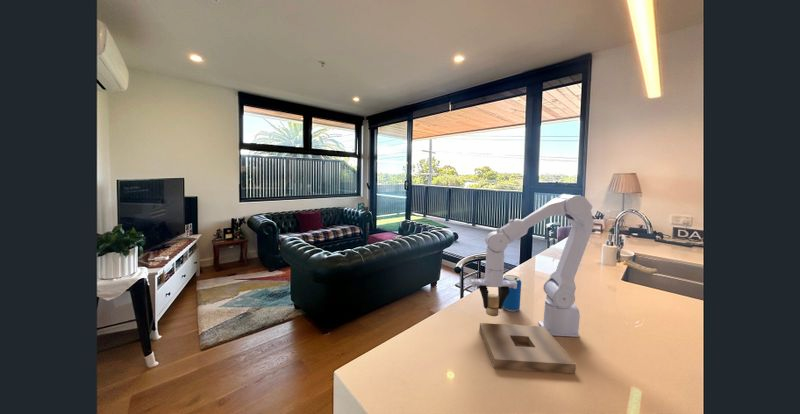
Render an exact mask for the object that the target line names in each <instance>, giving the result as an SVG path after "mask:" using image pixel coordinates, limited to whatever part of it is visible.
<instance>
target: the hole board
mask: <svg viewBox="0 0 800 414" xmlns="http://www.w3.org/2000/svg"><path fill="white" fill-rule="evenodd" d="M478 331H479V334H480V335H481V338H482V340H483V341H482V342H483V343H484V346H485V348H486V351H487V353H488V356H489V359H490V360H491V364H492V366H493V369H495V370H497V369H498V370H499V369H500V370H514V371H515V370H516V371H530V372H541V373H542V372H544V373H545V372H546V373H556V374H558V373H559V374H561V373H562V374H574V375H575V374H576V369H577V363H576V362H574V360H573V359H572V358H571V357H570V355H569V354H568V353H567V352H566V351H565V349H564V348H563V346H561V345H560V344H559V342H558V341H557V339H555V336H553V335H551V334H550V333H549V331H548V330H547V329H546V328H545V327H544V326H541V325H539V326H538V325H527V324H526V325H524V324H504V323H487V322H479V330H478ZM515 344H516V345H517V344H518V345H528V346H516V345H515Z"/></svg>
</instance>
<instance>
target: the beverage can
mask: <svg viewBox="0 0 800 414" xmlns="http://www.w3.org/2000/svg"><path fill="white" fill-rule="evenodd" d="M503 280H510V281H516V282H517V289H514V288H509V290H510V292H509V294H508V296H507V297H506V299H505V300H504V303H503V305H502V309H504V310H506V311H508V312H517V311H518V310H520V306H521V295H522V294H521V293H522V280H521V278H520V277H519V276H517V275H512V274H506V275H503Z"/></svg>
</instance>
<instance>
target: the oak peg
mask: <svg viewBox="0 0 800 414" xmlns="http://www.w3.org/2000/svg"><path fill="white" fill-rule="evenodd" d="M499 311H500V309H499V296H498V294H495V293H488V298H487V309H485V314H486V315H487V316H490V317H498V316H499Z"/></svg>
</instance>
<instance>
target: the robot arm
mask: <svg viewBox="0 0 800 414" xmlns="http://www.w3.org/2000/svg"><path fill="white" fill-rule="evenodd" d="M592 210H593V205H592V204H591V202H590V201H589V200H588V198H586V197H585V196H582V195H574V194H570V193H562V194H559V196H557V197H555V198H552V199H551V200H550V201H548V202H546V203H545V204H544V205H542V206H541V207H539V208H537V209H536V210H534V211H533V212H532V213H530V214H528V215H527V216H526V217H524V218H521V219H520V218H515V219H512V218H510V219H509V220H508V223H506V224H504V225H503V226H501V227H500V228H499V227H497V228H495V231H491V232H489V233H487V235H486V237H485V239H484V242H485V244H486V254H485V267H484V268H485V270H484V271H485V272H484V278H474V279H473V278H470V279H471V280H470V286H471V287H472V288H475V287H478V288H479V292H480V294H481V298H482V303H483V308H484V309H485V310H486V309H487V298H488V294H489V292H490V291H489V289H488V288H489V287H490V288H497V290H498V291H497V293H498V294H497V295H498V296H499V310H502V309H503V307H502V305H503V303H504V300H505V299H506V297H507V296H508V294H509V292H510V290H509V288H514V289H517V282H516V281H510V280H503V278H504V273H505V272H504V269H505V250H506V249H507V247H508V245H510V244H511V243H513V242H515V241H517V240H518V239H519V240H520V238H522V237H524V236H525V235H527V234H528V231H529V229H530V228H531V227H533V226H535V225H537V224H539V223H541V222H543V221H545V220H546V219H548V218H550V217H552V216H555V217H556V216H557V217H558V216H561V217H562V216H564V217H565V218H566V219H567V220H568V222H569V223H570V224H571V228H570V231H569V233H568V235H567V239H566V242H565V245H564V248H563V250H562V253H561V255H560V259H559V262H558V263H557V266H556V268H555V269H556V270H555V271H553V272H552V273H551V274H550V275H549V278H548V279H547V280H546V281H545V282H544V283H543V291H544V293H545V294H546V297H545V299H544V308H543V309H544V311H543V312H544V313H543V321H541V320H540V321H539V320H538V322H537V323H538V324H539V326H544V327H545V328H546V329H547V330H548V331H549V333H550V334H551V335H552V336H553V337H555V336H557V337H573V338H575V337H576V338H579V337H580V334H579V329H580V319H581V318H580V317H581V315H580V311H579V308H578V307H577V305H576V304H575V302H576V295H575V293H576V290H577V286H576V281H575V277H576V275H577V272H578V269H579V266H580V263H581V261H582V259H583V256H584V254H585V251H586V249H587V245H588V244H589V243H588V242H589V239H590V237H591V234H592V231H593V230H594V229H593V228H594V225H595V223H594V218H593V213H592Z"/></svg>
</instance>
